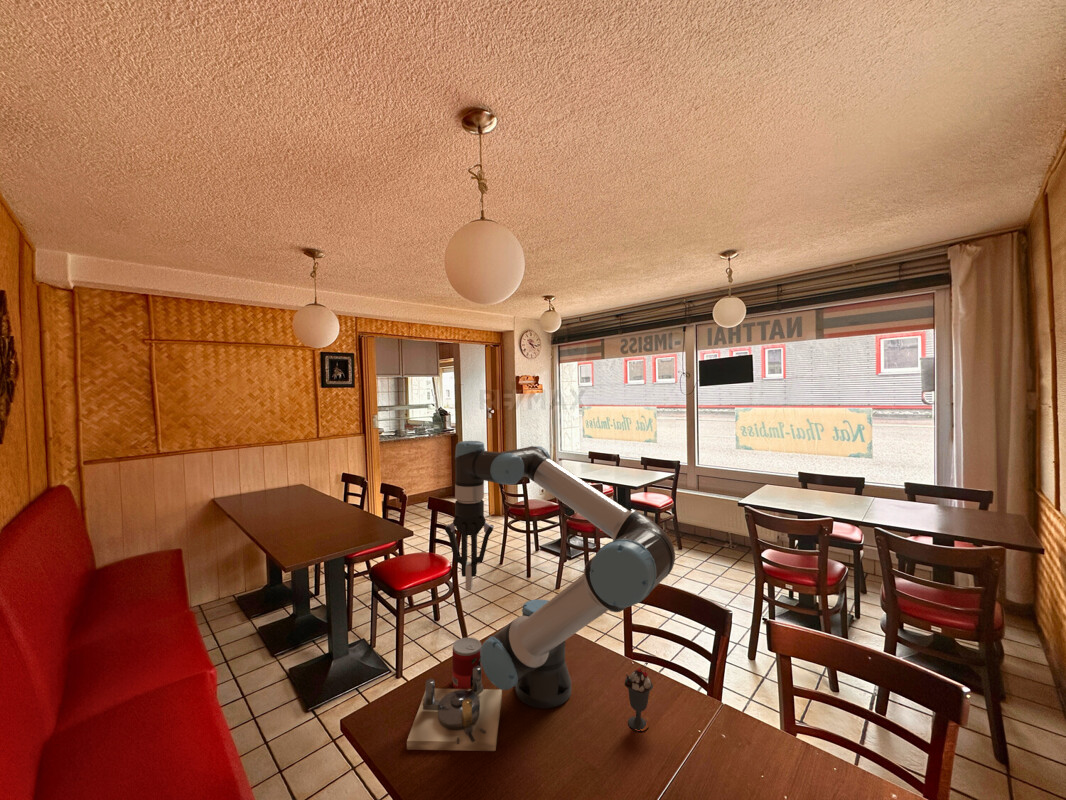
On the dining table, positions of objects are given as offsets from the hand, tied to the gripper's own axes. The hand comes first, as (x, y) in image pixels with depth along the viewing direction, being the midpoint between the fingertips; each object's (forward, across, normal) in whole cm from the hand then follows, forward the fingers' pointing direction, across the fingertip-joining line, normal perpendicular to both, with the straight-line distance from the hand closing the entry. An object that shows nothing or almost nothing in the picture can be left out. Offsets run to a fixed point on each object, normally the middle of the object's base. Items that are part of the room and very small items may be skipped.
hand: (469, 588), depth 117 cm
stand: (+28, +1, +10) cm, 30 cm away
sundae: (+29, -43, +10) cm, 53 cm away
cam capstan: (+26, 0, +12) cm, 29 cm away
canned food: (+29, +1, -4) cm, 29 cm away
